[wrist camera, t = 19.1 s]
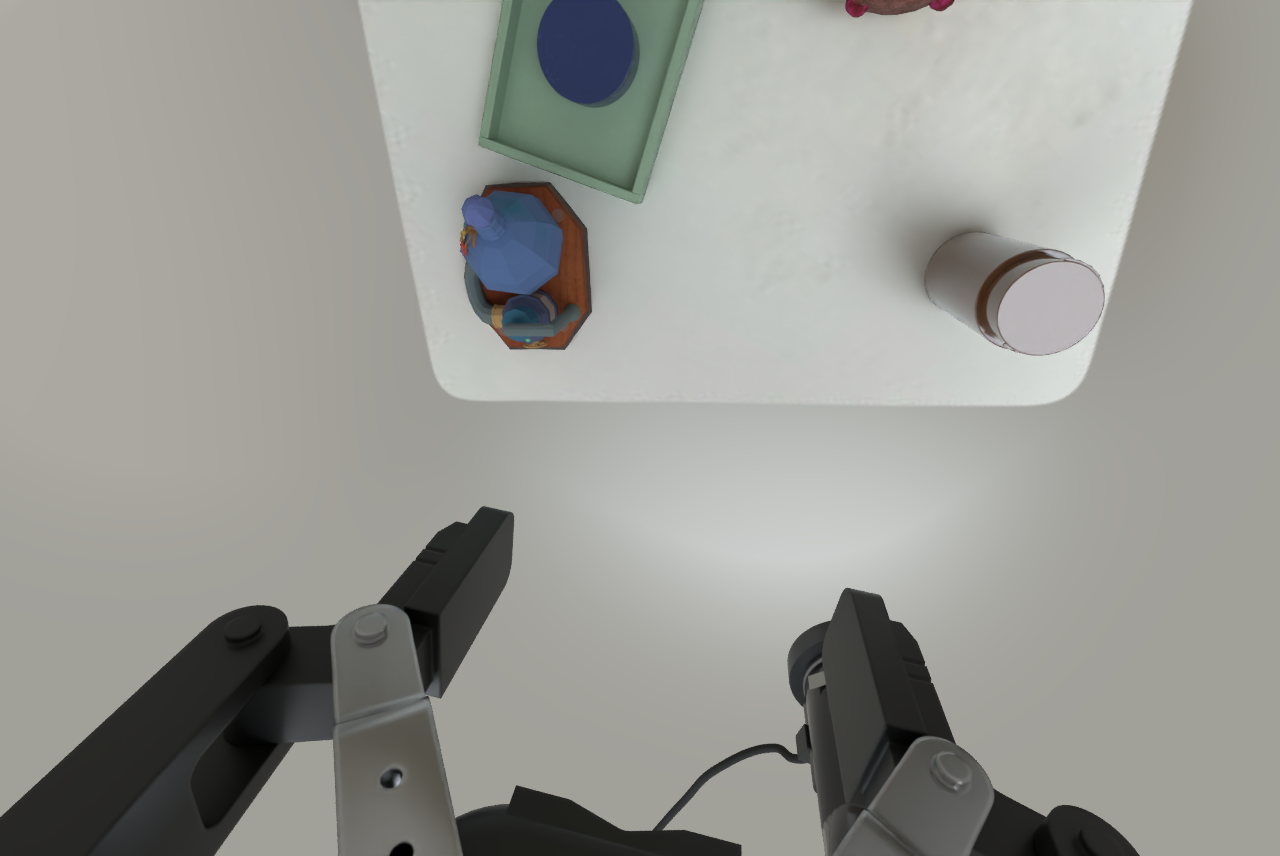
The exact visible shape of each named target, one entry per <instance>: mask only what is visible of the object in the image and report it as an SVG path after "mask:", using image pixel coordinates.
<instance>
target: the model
mask: <svg viewBox="0 0 1280 856" xmlns="http://www.w3.org/2000/svg"><path fill="white" fill-rule="evenodd" d="M461 210H462V213H463V216H464V219H465V222H464V229H463V232H461V238H460V241H461V244H460V246H461V249H460V252H461V253H462V255H463V256H464V257H465V259H466V260H467V262H466V266H465V274H464V278H465V284H466V289H467V293H468V297H469V301H470V303H471V305H472V307H473V309H474V312H475V313H476V314H477V315H478V317H479V318H480V319H481V320H482V321H483V322H485V323H487V324H489V325H490V326H491V327H492V328H493V329H494V330H495V331H496V333H497V334H498V335H499V336H500V337H501V339H502V340H503V341H504V342H505V344H506V345H507V346H508V347H509V349H556V350H565V349H566V347H567V346H568V344H569V343H570V341H571V340H572V339H573V337H574V336H575V334H576V333H577V332H578V330H579V329H580V327H581V326H582V325H583V323H584V322H585V320H586V319H587V318H588V316H589V315H590V313H591V312H592V308H591V290H590V272H589V256H588V239H587V228H586V227H585V226H584V224H583V223H582V222H581V220H580V219H579V218H578V217H577V215H576V214H575V213H574V211H573V210H572V209H571V207H570V206H569V205H568V204H567V202H566V201H565V200H564V199H563V198H562V196H561V195H560V194H559V193H558V192H557V190H556V189H555V188H554V187H553V186H552V184H551V183H509V184H498V185H487V186H485V188H484V191H483V193H482V195H481V196H479V195H477V194H476V195H473V196H471V197H469V198H467V199H466V200H465V202H464V204H463V206H462V209H461Z"/></svg>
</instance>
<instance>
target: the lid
mask: <svg viewBox="0 0 1280 856" xmlns="http://www.w3.org/2000/svg"><path fill="white" fill-rule="evenodd" d="M537 53H538V59H539V63H540V66H541V69H542V71H543V74H544V76H545V78H546V79H547V81H548V82H549V84H550V85H551V87H552V88H553V89H554V90H555V91H556V92H557V93H559V94H560V95H561V96H562V97H564V98H566V99H568V100H570V101H572V102H574V103H577V104H579V105H581V106H585V107H590V108H599V107H604V106H607V105H610V104H612V103H614V102H615V101H617V100H618V99H620V98H621V97H622V96H623V95H624V94H625V93H626V92H627V90H628V89H629V88H630V86H631V84H632V83H633V80H634V78H635V76H636V73H637V70H638V65H639V58H640V47H639V40H638V35H637V32H636V29H635V26H634V24H633V22H632V20H631V19H630V17H629V16H628V14H627V13H626V11H625V10H624V9H623V7H622V6H621V5H620V3H619V2H618V1H617V0H553V1H552V2H551V3H550V4H549V6H548V7H547V9H546V10H545V12H544V14H543V16H542V19H541V22H540V25H539V29H538V35H537Z"/></svg>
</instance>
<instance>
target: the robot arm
mask: <svg viewBox="0 0 1280 856" xmlns="http://www.w3.org/2000/svg"><path fill="white" fill-rule="evenodd" d="M513 529H514V515H513V513H512V512H507V511H503V510H498V509H494V508H489V507H485V506H483V507H481V508H480V509H479V510H478V512H477V513H476V514H475V515H474V517H473V518H472V519H471V520H470V522H469V523H468V524H465V523H461V522H455V523H453V524H451V525H450V526H448V527H446V528H444V529H442V530H441V531H439V532H438V533H437V534H436V535H435V536H434V537H433V539H432V540H431V541H430V542H429V543H428V544H427V546H426V549H423V550H422V552H421V553H420V554H419V555H418V556H417V558H416V560H415V561H413V562H412V564H411V565H410V566H409V567H408V568H407V570H405V572H404V573H403V574H402V575H401V576H400V577H399V579H398V580H397V581H396V582H395V583H394V585H393V586H392V587H391V588H390V589H389V590H388V592H387V593H386V594H385V595H384V596H383V598H382V599H381V600H380V601H379V603H377V604H373V605H368V606H364V607H361V608H358V609H356V610H354V611H352V612H350V613H348V614H347V615H345V616H344V617H343V618H342V619H341V620H339V621H338V623H337V624H336V625H329V626H304V627H303V626H302V627H289V626H288V621H287V617H286V615H285V614H284V613H283V612H282V611H281V610H279V609H277V608H275V607H271V606H264V605H262V606H261V605H256V606H249V607H244V608H240V609H236V610H234V611H231V612H229V613H226V614H225V615H222V616H221V617H219V618H217V619H216V620H214V621H213V622H212V623H210V624H209V625H208V626H207V627H206V628H205V629H204V630H203V631H201V632H200V633H199V634H198V635H197V636H196V637H195V638H194V639H193V640H192V641H191V642H190V643H188V644H187V645H186V646H185V647H184V648H183V649H182V650H181V651H180V652H179V653H178V654H177V655H176V656H174V657H173V658H172V659H171V660H170V661H169V662H168V663H167V664H166V665H165V666H164V667H162V668H161V669H160V670H159V671H158V672H157V673H156V674H155V675H154V676H153V677H152V678H151V679H150V680H148V681H147V682H146V683H145V684H144V685H143V686H142V687H141V688H140V689H139V690H138V691H137V692H136V693H135V694H133V695H132V696H131V697H130V698H129V699H128V700H127V701H126V702H125V703H124V704H122V705H121V706H120V707H119V708H118V709H117V710H116V711H115V712H114V713H113V714H112V715H111V716H109V717H108V718H107V719H106V720H105V721H104V722H103V723H102V724H101V725H100V726H99V727H98V728H96V729H95V730H94V731H93V732H92V733H91V734H90V735H89V736H88V737H87V738H86V739H85V740H83V741H82V743H80V744H79V745H78V746H77V747H76V748H75V749H74V750H73V751H72V752H70V753H69V755H67V756H66V757H65V758H64V759H63V760H62V761H61V762H60V763H59V764H58V765H56V766H55V767H54V768H53V769H52V770H51V771H50V772H49V773H48V774H47V775H46V776H45V777H43V778H42V779H41V780H40V781H39V782H38V783H37V784H36V785H35V786H34V787H33V788H32V789H31V790H30V791H28V792H27V793H26V794H25V795H24V796H23V797H22V798H21V799H20V800H19V801H17V802H16V803H15V804H14V805H13V806H12V807H11V808H10V809H9V810H8V811H7V812H6V813H4V814H3V815H2V817H0V856H214V855H215V854H216V852H217V850H218V849H219V848H220V846H221V845H222V844H223V842H224V841H225V839H226V838H227V837H228V835H229V834H230V832H231V831H232V830H233V828H234V827H235V825H236V824H237V823H238V821H239V820H240V818H241V817H242V816H243V814H244V813H245V811H246V810H247V809H248V807H249V806H250V804H251V803H252V802H253V800H254V799H255V797H256V796H257V794H258V793H259V792H260V790H261V789H262V787H263V786H264V785H265V783H266V782H267V780H268V779H269V778H270V776H271V775H272V773H273V772H274V771H275V769H276V768H277V766H278V765H279V764H280V762H281V761H282V759H283V758H284V757H285V755H286V754H287V752H288V751H289V749H290V748H291V747H292V745H293V744H294V742H305V741H318V740H332V739H333V748H334V769H335V770H334V771H335V790H336V791H335V792H336V815H337V837H338V856H741V845H739V844H735V843H732V842H728V841H724V840H720V839H717V838H713V837H709V836H705V835H701V834H698V833H694V832H690V831H686V830H666V831H665V830H664V831H662V830H663V829H664V828H665V826H666V825H667V824H668V823H669V822H670V821H671V820H672V819H673V817H674V816H675V815H676V814H677V813H678V812H679V811H680V810H681V809H682V808H683V807H684V806H685V805H686V803H688V801H689V800H690V799H691V798H692V797H693V796H694V794H695V793H696V792H697V791H698V790H699V789H700V787H701V786H702V785H703V784H704V783H705V782H707V781H708V780H709V779H710V778H711V777H713V776H714V775H716V774H717V773H719V772H721V771H723V770H724V769H726V768H728V767H730V766H731V765H733V764H735V763H737V762H739V761H741V760H744V759H746V758H748V757H751V756H754V755H758V754H762V753H769V752H777V753H779V754H781V755H782V756H783V757H784V758H785V759H786V760H787V761H789V762H792V763H800V764H803V763H809V764H810V765H811V774H812V781H813V788H814V791H815V792H816V793H817V795H818V803H819V811H820V819H821V827H822V835H823V842H824V850H825V856H1139V854H1138V853H1137V852H1136V850H1135V849H1134V848H1133V847H1132V845H1131V844H1130V843H1129V842H1128V841H1127V840H1126V839H1125V838H1124V837H1123V836H1122V835H1121V834H1120V833H1119V832H1118V831H1117V830H1116V829H1115V828H1113V827H1112V826H1111V825H1110V824H1108V823H1107V822H1105V821H1104V820H1103V819H1101V818H1100V817H1098V816H1096V815H1094V814H1093V813H1091V812H1089V811H1086V810H1084V809H1082V808H1079V807H1075V806H1070V805H1062V806H1057V807H1056V808H1054V809H1053V810H1052V811H1051V812H1050V813H1049V815H1048V816H1047V817H1045V816H1043V815H1041V814H1039V813H1037V812H1035V811H1034V810H1032V809H1029V808H1028V807H1026V806H1024V805H1022V804H1020V803H1018V802H1016V801H1014V800H1013V799H1011V798H1009V797H1006V796H1005V795H1003V794H1002V793H1000V792H998V791H997V790H995V789H994V788H993V786H992V784H991V781H990V779H989V777H988V776H987V774H986V772H985V771H984V769H983V768H982V767H981V765H980V764H979V763H978V762H977V761H976V760H975V759H974V758H973V757H972V756H971V755H970V754H969V753H968V752H966V751H965V750H964V749H962V748H961V747H959V746H958V745H956V743H955V741H954V738H953V735H952V733H951V730H950V727H949V725H948V722H947V719H946V717H945V714H944V711H943V709H942V706H941V703H940V701H939V698H938V695H937V693H936V690H935V687H934V685H933V683H931V677H930V674H929V672H928V669H927V667H926V666H925V661H924V659H923V656H922V653H921V651H920V648H919V645H918V643H917V641H916V640H915V639H914V638H913V636H912V635H911V634H910V633H909V632H908V630H907V629H906V628H905V627H904V625H903V624H902V623H900V622H895V621H891V620H890V619H889V616H888V613H887V610H886V607H885V604H884V601H883V599H882V597H881V596H880V595H878V594H873V593H868V592H864V591H859V590H855V589H851V588H845V589H844V591H843V592H842V594H841V597H840V599H839V602H838V604H837V607H836V609H835V612H834V614H833V617H832V619H831V622H830V625H829V627H828V630H827V632H826V635H825V638H824V642H823V649H822V654H821V655H819V656H817V657H816V658H815V659H813V660H812V661H811V662H810V663H809V665H808V666H807V667H806V669H805V671H804V674H803V690H804V695H805V697H804V699H803V706H804V713H805V723H806V724H804V725H803V726H802V728H801V729H800V731H799V732H798V733H797V735H796V744H797V754H792V753H790V752H789V751H788V750H787V749H786V748H785V747H784V746H782V745H779V744H763V745H758V746H754V747H751V748H748V749H745V750H743V751H740V752H738V753H736V754H734V755H732V756H730V757H728V758H726V759H725V760H723V761H721V762H719V763H718V764H716V765H714V766H713V767H711V768H710V769H708V770H707V771H706V772H704V773H703V774H702V775H701V776H700V777H699V778H698V779H697V780H696V781H695V783H694V784H693V785H692V786H691V788H690V789H689V790H688V791H687V792H686V793H685V795H684V796H683V797H682V798H681V799H680V800H679V801H678V802H677V803H676V804H675V805H674V806H673V808H672V809H671V810H670V811H669V812H668V813H667V814H666V815H665V816H664V818H663V819H662V820H661V821H660V822H659V823H658V825H657V826H656V827H655V828H654V829H653V830H652V831H624V830H621V829H619V828H617V827H616V826H614V825H612V824H611V823H609V822H607V821H605V820H604V819H602V818H600V817H599V816H597V815H595V814H593V813H592V812H590V811H588V810H587V809H585V808H583V807H582V806H580V805H578V804H576V803H575V802H573V801H572V800H569V799H566V798H562V797H558V796H554V795H551V794H547V793H543V792H539V791H535V790H532V789H528V788H524V787H520V786H516V787H515V790H514V793H513V796H512V799H511V801H510V804H500V805H494V806H488V807H483V808H480V809H477V810H473V811H470V812H468V813H465V814H463V815H461V816H458V817H456V818H455V816H454V810H453V806H452V801H451V797H450V792H449V787H448V782H447V777H446V773H445V768H444V763H443V759H442V754H441V749H440V744H439V739H438V735H437V730H436V726H435V721H434V716H433V711H432V706H431V702H430V699H429V697H428V696H425V695H430V696H433V697H437V698H442V696H443V694H444V692H445V691H446V689H447V687H448V685H449V683H450V682H451V680H452V678H453V677H454V675H455V673H456V671H457V670H458V668H459V666H460V664H461V663H462V661H463V659H464V657H465V655H466V654H467V652H468V650H469V649H470V647H471V645H472V643H473V642H474V640H475V638H476V636H477V634H478V633H479V631H480V629H481V628H482V626H483V624H484V622H485V620H486V619H487V617H488V615H489V613H490V612H491V610H492V608H493V606H494V605H495V603H496V601H497V599H498V598H499V596H500V594H501V592H502V591H503V589H504V587H505V585H506V583H507V580H508V577H509V574H510V569H511V564H512V548H513V531H514V530H513Z"/></svg>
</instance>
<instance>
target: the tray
mask: <svg viewBox="0 0 1280 856" xmlns="http://www.w3.org/2000/svg"><path fill="white" fill-rule="evenodd" d="M552 1H553V0H503V4H502V10H501V16H500V21H499V27H498V33H497V39H496V45H495V51H494V56H493V62H492V68H491V74H490V80H489V85H488V91H487V97H486V103H485V109H484V114H483V120H482V126H481V132H480V138H479V144H478V145H479V146H481V147H484V148H486V149H489V150H492V151H495V152H497V153H500V154H503V155H505V156H508V157H511V158H513V159H516V160H519V161H521V162H524V163H527V164H530V165H532V166H535V167H538V168H540V169H543V170H546V171H548V172H551V173H554V174H557V175H559V176H562V177H565V178H567V179H570V180H573V181H575V182H578V183H581V184H584V185H586V186H589V187H592V188H594V189H597V190H600V191H602V192H605V193H608V194H611V195H613V196H616V197H619V198H621V199H624V200H627V201H629V202H632V203H635V204H639V203H642V202H643V198H644V195H645V192H646V189H647V185H648V182H649V179H650V176H651V172H652V169H653V166H654V163H655V159H656V156H657V153H658V150H659V146H660V143H661V140H662V137H663V133H664V130H665V127H666V123H667V120H668V117H669V114H670V110H671V107H672V104H673V101H674V97H675V94H676V91H677V88H678V84H679V81H680V78H681V75H682V71H683V68H684V65H685V62H686V58H687V55H688V52H689V48H690V45H691V42H692V39H693V35H694V32H695V29H696V26H697V22H698V19H699V16H700V13H701V9H702V6H703V3H704V0H617V1H618V2H619V3H620V5H621V6H622V7H623V9H624V10H625V11H626V13H627V14H628V16H629V17H630V19H631V20H632V22H633V24H634V26H635V29H636V32H637V35H638V40H639V47H640V58H639V65H638V70H637V73H636V76H635V78H634V80H633V83H632V84H631V86H630V88H629V89H628V90H627V92H626V93H625V94H624V95H623V96H622V97H621V98H620V99H618V100H617V101H615V102H614V103H612V104H610V105H607V106H604V107H599V108H590V107H585V106H581V105H579V104H577V103H574V102H572V101H570V100H568V99H566V98H564V97H562V96H561V95H560V94H559V93H557V92H556V91H555V90H554V89H553V88H552V87H551V85H550V84H549V82H548V81H547V79H546V78H545V76H544V74H543V71H542V69H541V66H540V63H539V59H538V53H537V35H538V29H539V25H540V22H541V19H542V16H543V14H544V12H545V10H546V9H547V7H548V6H549V4H550V3H551V2H552Z"/></svg>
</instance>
